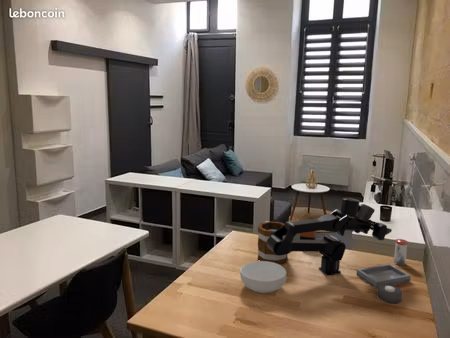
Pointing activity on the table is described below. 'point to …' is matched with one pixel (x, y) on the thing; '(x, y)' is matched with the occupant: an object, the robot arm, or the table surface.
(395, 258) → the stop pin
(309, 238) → the battery
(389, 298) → the trolley wheel
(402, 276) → the tray
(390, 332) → the table surface
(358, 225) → the robot arm
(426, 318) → the table surface
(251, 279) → the cereal bowl
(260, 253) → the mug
